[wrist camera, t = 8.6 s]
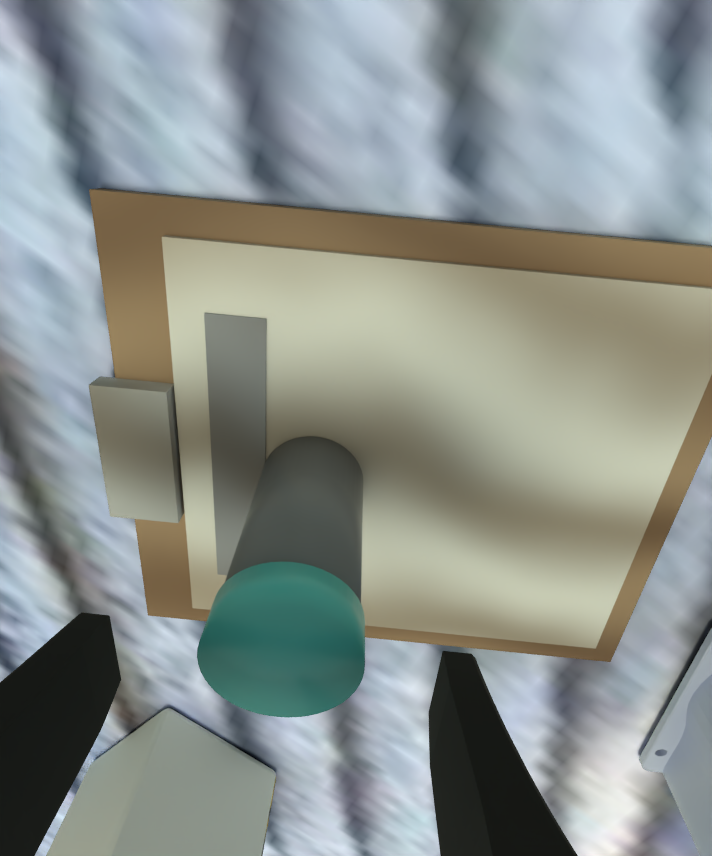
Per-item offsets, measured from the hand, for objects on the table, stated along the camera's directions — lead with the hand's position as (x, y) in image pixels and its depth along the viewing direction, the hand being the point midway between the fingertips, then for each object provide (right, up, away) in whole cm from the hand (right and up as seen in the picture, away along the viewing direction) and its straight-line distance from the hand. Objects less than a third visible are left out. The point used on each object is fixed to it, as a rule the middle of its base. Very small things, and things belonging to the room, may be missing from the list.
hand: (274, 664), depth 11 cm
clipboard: (+3, +4, +7) cm, 9 cm away
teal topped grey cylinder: (0, +3, +6) cm, 7 cm away
